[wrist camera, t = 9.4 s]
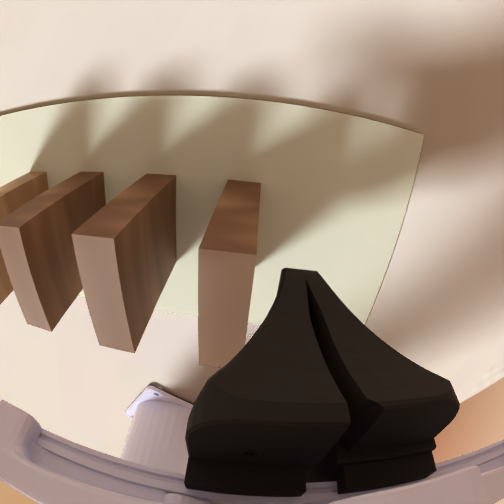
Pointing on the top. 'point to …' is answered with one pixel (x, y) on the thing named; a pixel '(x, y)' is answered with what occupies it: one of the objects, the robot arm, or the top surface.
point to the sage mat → (243, 169)
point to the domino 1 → (11, 199)
